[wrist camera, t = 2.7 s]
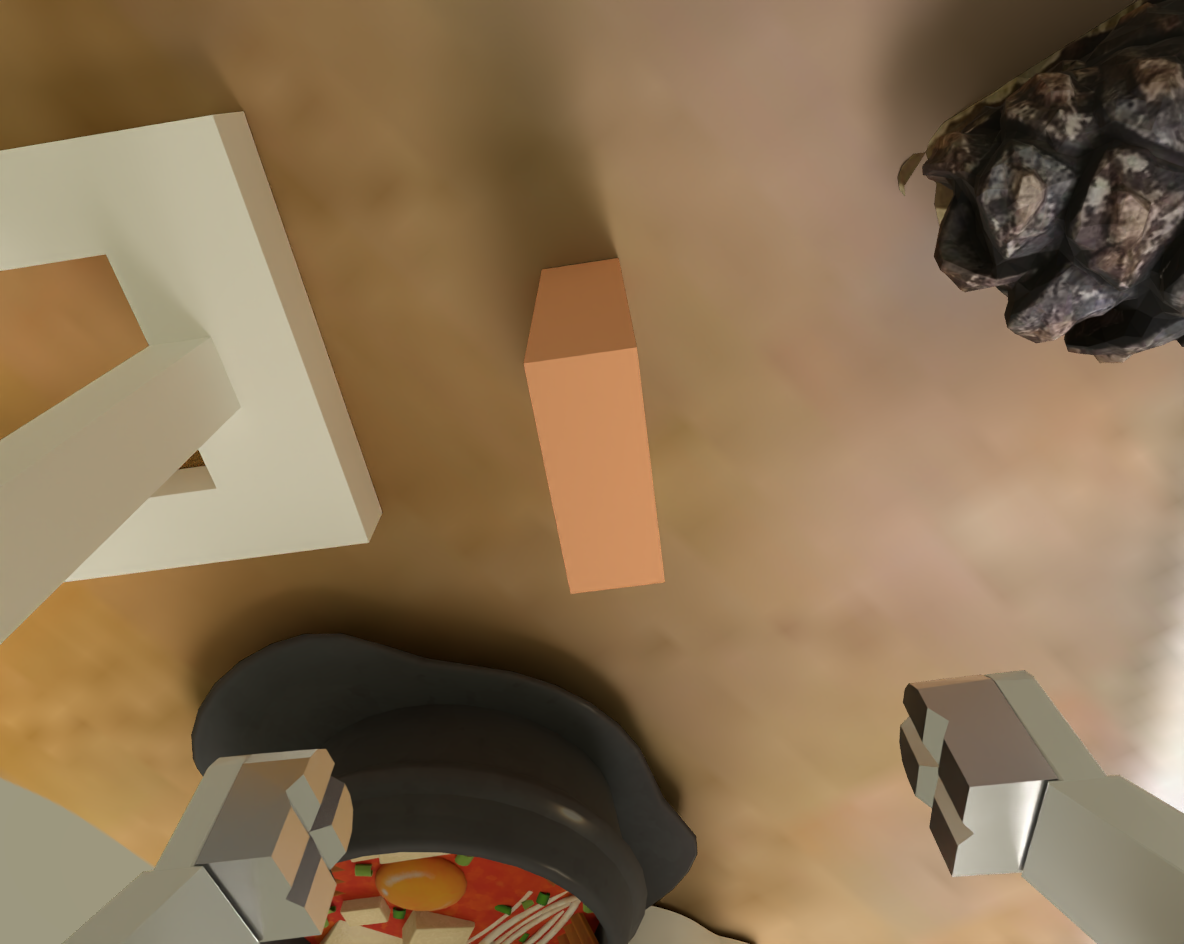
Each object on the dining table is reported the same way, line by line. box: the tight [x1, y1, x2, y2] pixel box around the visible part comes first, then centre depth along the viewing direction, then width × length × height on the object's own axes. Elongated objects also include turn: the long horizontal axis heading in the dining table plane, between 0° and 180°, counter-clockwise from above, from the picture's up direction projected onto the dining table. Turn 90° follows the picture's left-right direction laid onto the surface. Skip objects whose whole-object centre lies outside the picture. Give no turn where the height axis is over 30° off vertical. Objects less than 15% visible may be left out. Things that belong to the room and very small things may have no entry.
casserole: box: [191, 633, 697, 944], centre depth 31 cm, size 25×19×8 cm
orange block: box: [524, 258, 665, 594], centre depth 21 cm, size 6×2×8 cm, turn 8°
